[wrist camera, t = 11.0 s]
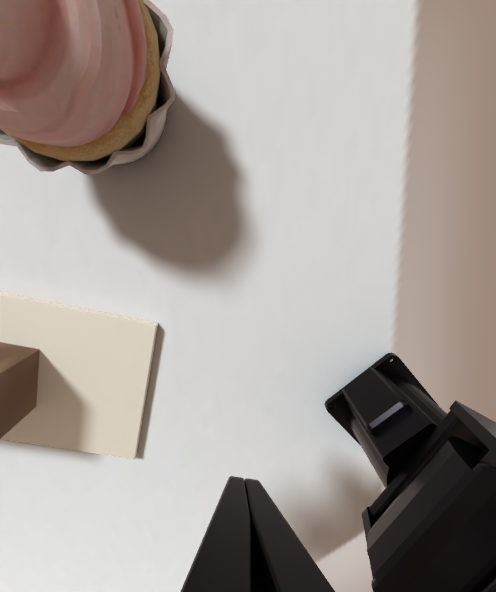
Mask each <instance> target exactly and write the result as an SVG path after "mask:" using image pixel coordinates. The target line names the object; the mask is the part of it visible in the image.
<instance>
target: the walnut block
mask: <svg viewBox="0 0 496 592" xmlns="http://www.w3.org/2000/svg"><path fill="white" fill-rule="evenodd" d="M39 350H40V349H35V348H30V347H24V346H19V345H13V344H8V343H3V342H0V439H1V438H2V437H3V436H4V435H5V434H6V433H7V432H9V431H10V430H11V429H12V428H13V427H14V426H15V425H16V424H17V423H19V422H20V421H21V420H22V419H23V418H24V417H25V416H26V415H27V414H29V413H30V412H31V411H32V410H33V409H34V408H35V407H36V403H37V386H38V368H39Z"/></svg>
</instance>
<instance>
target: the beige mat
mask: <svg viewBox="0 0 496 592" xmlns="http://www.w3.org/2000/svg"><path fill="white" fill-rule="evenodd" d="M157 328H158V323H155V322H150V321H145V320H140V319H135V318H130V317H125V316H120V315H115V314H110V313H105V312H100V311H95V310H90V309H85V308H80V307H75V306H70V305H65V304H60V303H55V302H49V301H44V300H39V299H34V298H29V297H24V296H19V295H14V294H9V293H4V292H0V342H3V343H8V344H13V345H19V346H24V347H30V348H35V349H40V350H39V368H38V386H37V403H36V407H35V408H34V409H33V410H32V411H31V412H30V413H29V414H27V415H26V416H25V417H24V418H23V419H22V420H21V421H20V422H19V423H17V424H16V425H15V426H14V427H13V428H12V429H11V430H10V431H9V432H7V433H6V434H5V435H4V436H3V437H2V438H1V439H2V440H8V441H15V442H22V443H28V444H35V445H42V446H48V447H55V448H62V449H68V450H75V451H82V452H88V453H95V454H102V455H108V456H115V457H122V458H128V459H135V456H136V454H137V450H138V444H139V438H140V431H141V425H142V419H143V413H144V407H145V401H146V395H147V389H148V383H149V376H150V370H151V364H152V358H153V352H154V346H155V340H156V334H157Z"/></svg>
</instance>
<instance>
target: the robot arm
mask: <svg viewBox="0 0 496 592" xmlns="http://www.w3.org/2000/svg"><path fill="white" fill-rule="evenodd" d="M391 359H393V361H392V362H390V360H391ZM331 405H334V406H333V407H330V406H331ZM325 407H326V409H327V411H328V412H329V413H330V414H331V415H332V416H333V417H334V418H335V419H336V420H337V422H338V423H339V424H340V425H341V426H342V427H343V428H344V429H345V430H346V431H347V432H348V433H349V434H350V435H351V436H352V437H353V438H354V439H355V440H356V441H357V442H358V443H359V444H360V445H361V446H362V448H363V450H364V451H365V453H366V455H367V457H368V458H369V460H370V462H371V464H372V465H373V467H374V469H375V471H376V472H377V474H378V476H379V478H380V479H381V481H382V483H383V484H384V486H385V490H384V491H383V492H382V493H381V494H380V496H379V497H378V498H377V499H376V500H375V502H374V503H373V504H372V505H371V506H370V507H367V508H366V509H365V510H364V512H363V513H362V518H363V524H364V530H365V535H366V541H367V552H368V555H369V559H370V565H371V570H372V576H373V580H372V588H373V592H496V422H494V421H492V420H490V419H488V418H487V417H485V416H483V415H481V414H479V413H477V412H476V411H474V410H472V409H470V408H468V407H466V406H464V405H463V404H461V403H459V402H457V401H455V402H454V403H453V405H452V406H451V407H450V412H449V413H448V414H447V413H446V412H444V411H443V410H442V409H441V408H440V407H439V406H438V404H437V403H436V402H435V401H434V400H433V398H432V397H431V396H430V395H429V394H428V393H427V391H426V390H425V389H424V387H423V386H422V385H421V384H420V383H419V381H418V380H417V379H416V378H415V377H414V375H413V374H412V373H411V372H410V371H409V369H408V368H407V367H406V366H405V364H404V363H403V362H402V361H401V360H400V358H399V357H397V356H396V355H395V354H394V353H388V354H386V355H385V356H384V357H382V358H381V359H380V360H378V361H377V362H376V363H375V364H373V365H372V366H371V367H369V368H368V369H367V370H365V371H364V372H363V373H362V374H360V375H359V376H358V377H356V378H355V379H354V380H353V381H351V382H350V383H349V384H347V385H346V386H345V387H343V388H342V389H341V390H340V391H338V392H337V393H336V394H334V395H333V396H332V397H331V398H329V399H328V400H327V401H326V402H325ZM181 592H335V591H334V590H333V588H332V587H331V585H330V584H329V582H328V581H327V579H326V578H325V576H324V575H323V574H322V572H321V571H320V569H319V568H318V566H317V565H316V563H315V562H314V560H313V559H312V557H311V556H310V555H309V553H308V552H307V550H306V549H305V547H304V546H303V544H302V543H301V541H300V540H299V539H298V537H297V536H296V534H295V533H294V531H293V530H292V528H291V527H290V525H289V524H288V522H287V521H286V520H285V518H284V517H283V515H282V514H281V512H280V511H279V509H278V508H277V506H276V505H275V503H274V502H273V501H272V499H271V498H270V496H269V495H268V493H267V492H266V490H265V489H264V487H263V486H262V484H261V483H260V482H259V481H258V480H254V479H245V480H244V479H243V478H240V477H234V476H231V477H229V479H228V481H227V483H226V486H225V488H224V491H223V493H222V495H221V498H220V500H219V502H218V505H217V507H216V509H215V512H214V514H213V516H212V519H211V521H210V524H209V526H208V528H207V531H206V533H205V535H204V538H203V540H202V542H201V545H200V547H199V549H198V552H197V554H196V557H195V559H194V561H193V564H192V566H191V568H190V571H189V573H188V575H187V578H186V580H185V582H184V585H183V587H182V590H181Z"/></svg>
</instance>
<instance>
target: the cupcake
mask: <svg viewBox="0 0 496 592" xmlns="http://www.w3.org/2000/svg"><path fill="white" fill-rule="evenodd" d="M172 39H173V28H172V27H171V25H170V23H169V21H168V19H167V17H166V15H165V14H164V13H163V12H161V11H160V10H159V9H158V8H157V7H156V6H155V5H154V4H153V3H152V2H151V1H149V0H0V144H5V145H12V146H17V147H18V148H19V150H20V151H21V152H22V154H23V155H24V157H25V158H26V159H27V161H28V162H29V163H30V164H31V165H33V166H34V167H36V168H37V169H38V170H40V171H55V170H58V169H61V168H63V167H66V166H69V165H70V166H72V167H74V168H75V169H77V170H79V171H81V172H82V173H84V174H98V173H100V172H103V171H105V170H107V169H108V168H109V167H111V166H112V165H119V164H126V163H130V162H133V161H136V160H139V159H140V158H142V157H143V156H144V155H146V154H147V153H148V152H149V151H150V150H151V149H152V148H153V147H154V146H155V144H156V143H157V142H158V140H159V139H160V137H161V134H162V132H163V129H164V126H165V122H166V116H167V109H168V108H169V107H170V105H171V104H172V103H173V102H174V100H175V92H174V88H173V85H172V83H171V81H170V78H169V76H168V73H167V71H166V67H167V63H168V59H169V54H170V50H171V46H172Z"/></svg>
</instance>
